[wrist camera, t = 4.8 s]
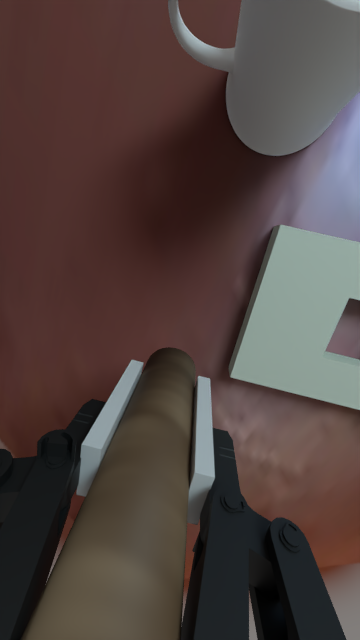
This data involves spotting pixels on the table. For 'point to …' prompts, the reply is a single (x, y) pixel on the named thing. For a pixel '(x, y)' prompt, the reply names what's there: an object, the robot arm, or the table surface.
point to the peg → (130, 522)
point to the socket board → (300, 318)
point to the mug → (284, 69)
